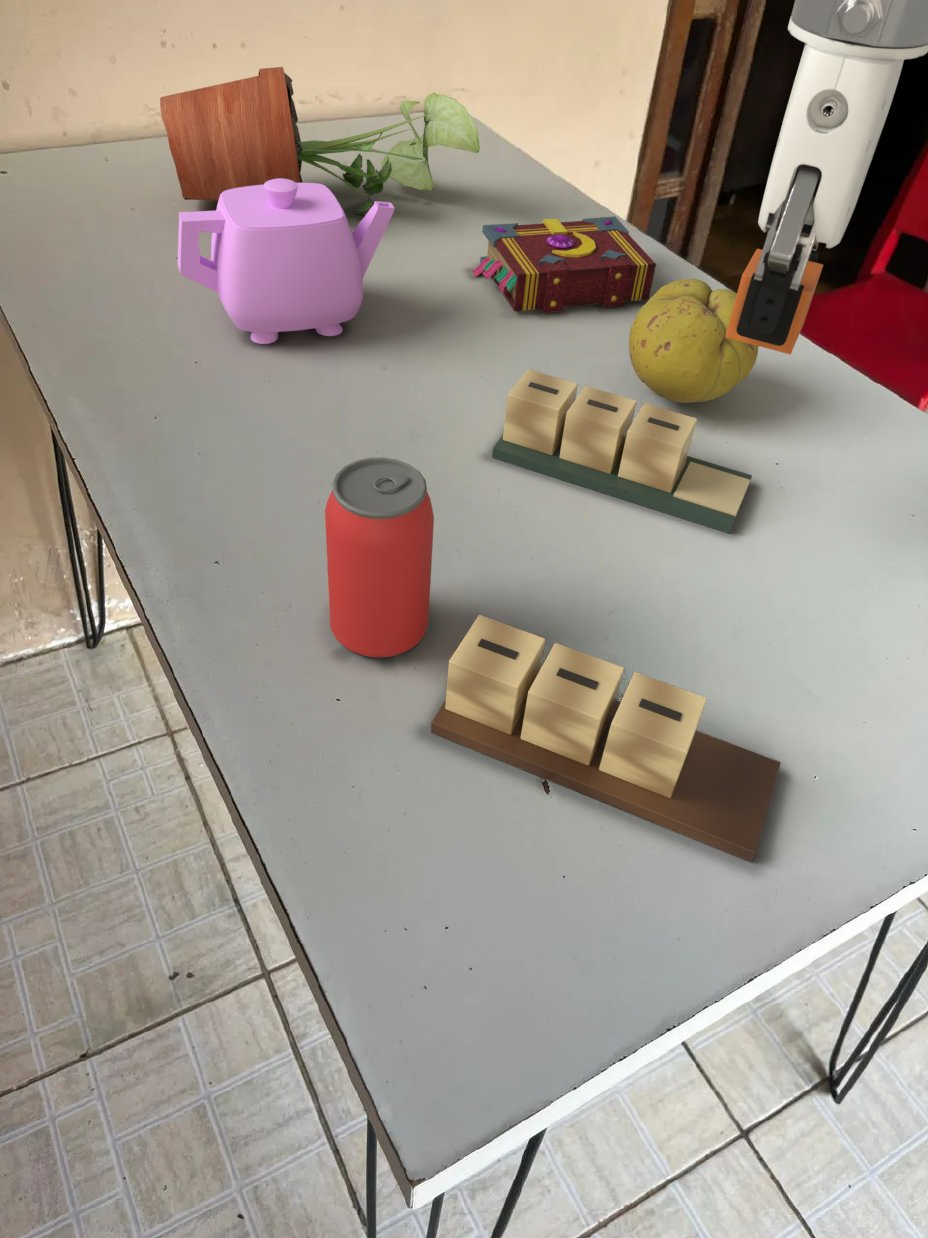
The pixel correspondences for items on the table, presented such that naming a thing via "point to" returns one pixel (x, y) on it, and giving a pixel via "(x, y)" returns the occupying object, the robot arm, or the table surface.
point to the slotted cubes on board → (604, 736)
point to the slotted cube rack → (617, 450)
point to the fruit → (688, 343)
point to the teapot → (282, 256)
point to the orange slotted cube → (810, 285)
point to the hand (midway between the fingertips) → (769, 318)
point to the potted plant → (292, 139)
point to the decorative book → (566, 264)
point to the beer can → (379, 556)
